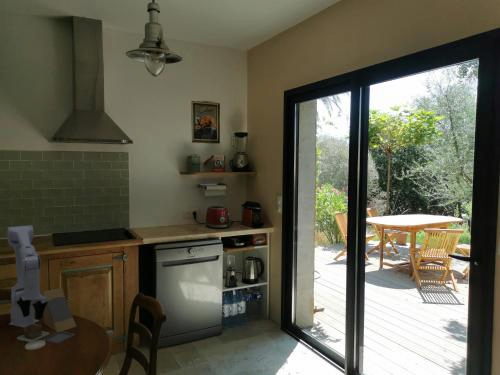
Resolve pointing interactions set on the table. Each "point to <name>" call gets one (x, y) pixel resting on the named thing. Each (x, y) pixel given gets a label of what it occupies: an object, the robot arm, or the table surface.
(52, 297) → the sandwich container
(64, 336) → the grey square tile
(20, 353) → the table surface
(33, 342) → the coaster
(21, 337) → the pale green square tile
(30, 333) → the walnut cube
